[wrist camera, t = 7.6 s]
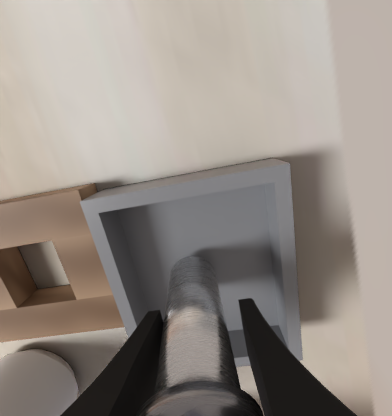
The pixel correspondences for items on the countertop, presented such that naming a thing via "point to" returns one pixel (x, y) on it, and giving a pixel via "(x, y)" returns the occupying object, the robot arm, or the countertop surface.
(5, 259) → the hitch block
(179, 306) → the pin
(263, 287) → the tray
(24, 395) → the can
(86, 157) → the countertop surface
